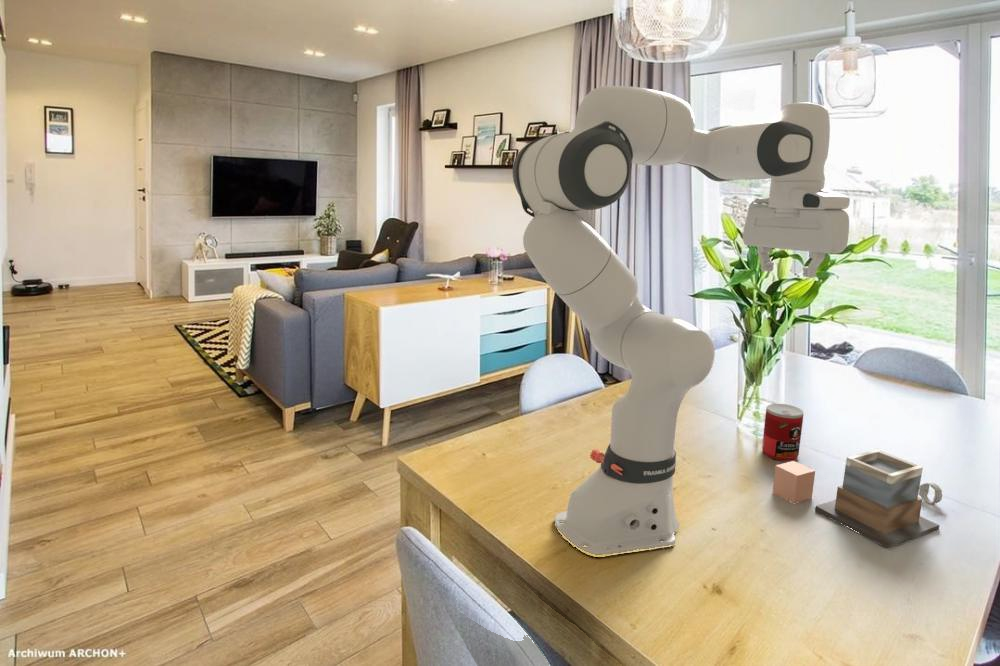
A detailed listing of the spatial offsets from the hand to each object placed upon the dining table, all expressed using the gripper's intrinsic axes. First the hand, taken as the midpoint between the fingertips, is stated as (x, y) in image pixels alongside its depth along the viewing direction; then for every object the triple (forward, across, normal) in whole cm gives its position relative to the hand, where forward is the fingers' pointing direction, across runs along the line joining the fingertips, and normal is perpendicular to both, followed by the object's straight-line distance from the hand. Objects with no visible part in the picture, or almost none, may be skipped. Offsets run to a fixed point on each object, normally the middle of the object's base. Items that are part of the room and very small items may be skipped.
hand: (787, 273), depth 113 cm
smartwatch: (+44, +17, +25) cm, 54 cm away
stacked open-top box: (+44, +17, +9) cm, 48 cm away
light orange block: (+44, +4, +3) cm, 44 cm away
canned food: (+44, -11, +17) cm, 48 cm away
